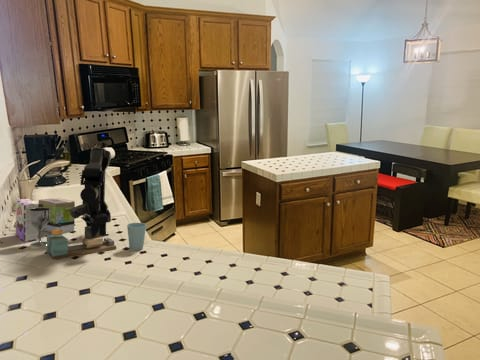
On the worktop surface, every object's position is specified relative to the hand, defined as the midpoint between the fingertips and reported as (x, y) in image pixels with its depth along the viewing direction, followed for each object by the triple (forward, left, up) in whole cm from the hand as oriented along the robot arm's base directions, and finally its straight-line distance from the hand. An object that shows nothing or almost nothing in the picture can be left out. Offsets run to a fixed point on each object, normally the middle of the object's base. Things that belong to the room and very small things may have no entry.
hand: (92, 235), depth 147 cm
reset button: (0, -13, +2) cm, 14 cm away
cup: (+9, +15, -6) cm, 19 cm away
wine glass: (-18, -15, -6) cm, 24 cm away
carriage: (0, 0, -4) cm, 4 cm away
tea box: (-38, -3, -6) cm, 39 cm away
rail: (0, -4, -6) cm, 7 cm away
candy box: (-31, -17, -6) cm, 36 cm away
